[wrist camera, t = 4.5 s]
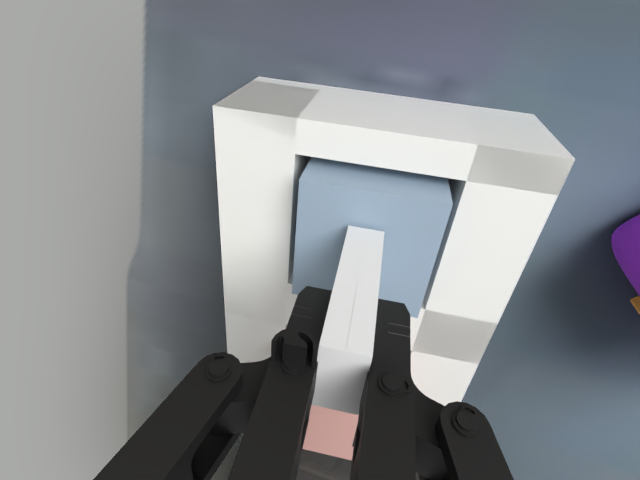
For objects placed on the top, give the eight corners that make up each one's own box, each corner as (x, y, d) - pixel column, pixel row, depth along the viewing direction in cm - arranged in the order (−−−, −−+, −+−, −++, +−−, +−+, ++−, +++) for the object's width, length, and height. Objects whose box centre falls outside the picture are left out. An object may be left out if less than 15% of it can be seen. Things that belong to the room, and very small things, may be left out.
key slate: (416, 270, 22) (417, 318, 19) (307, 250, 22) (291, 293, 19) (445, 167, 18) (452, 204, 15) (317, 147, 19) (299, 179, 16)
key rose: (382, 409, 26) (378, 466, 23) (291, 389, 26) (275, 442, 23) (400, 345, 22) (399, 403, 19) (296, 324, 23) (279, 376, 20)
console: (433, 375, 31) (437, 450, 26) (257, 338, 32) (230, 403, 27) (533, 114, 20) (575, 159, 15) (258, 76, 21) (212, 105, 16)
